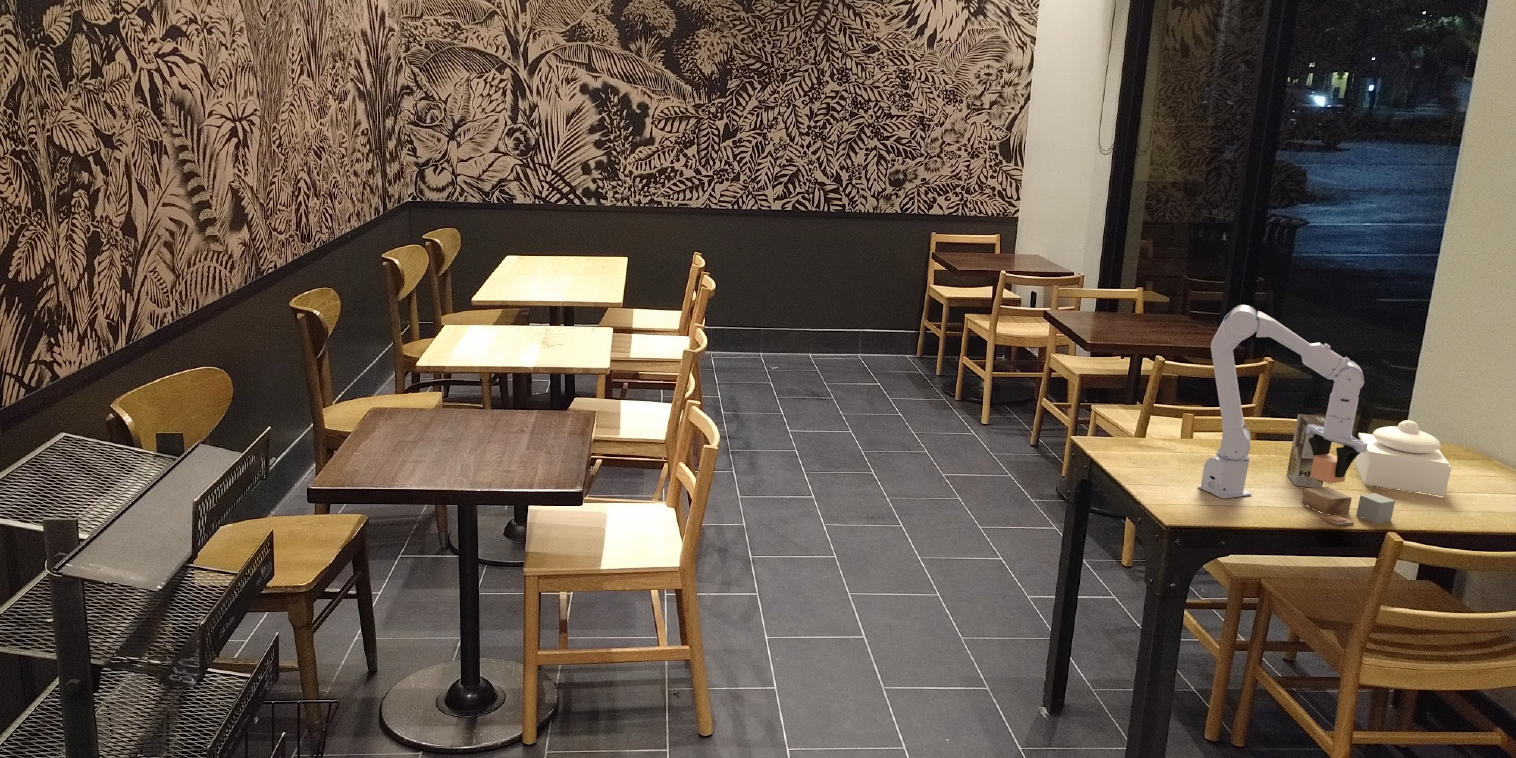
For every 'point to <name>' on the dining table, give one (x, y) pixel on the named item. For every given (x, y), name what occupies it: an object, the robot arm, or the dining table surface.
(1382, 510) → the slate cube
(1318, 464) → the terracotta cube
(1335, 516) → the tile
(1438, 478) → the butter dish
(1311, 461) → the coffee box
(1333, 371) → the robot arm
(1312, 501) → the walnut slab
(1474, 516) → the dining table surface
